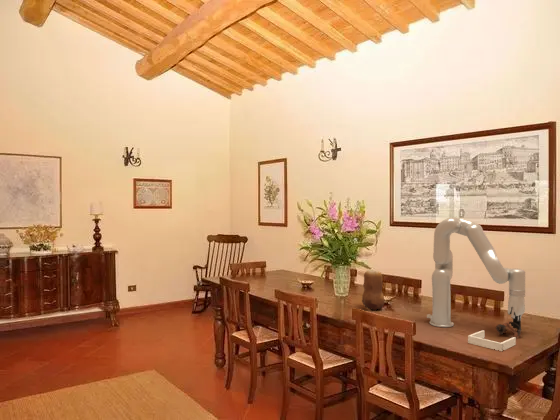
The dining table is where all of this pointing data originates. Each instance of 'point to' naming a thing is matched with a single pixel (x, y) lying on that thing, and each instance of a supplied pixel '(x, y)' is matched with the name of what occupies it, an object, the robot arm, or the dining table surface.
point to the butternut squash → (373, 290)
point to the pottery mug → (503, 328)
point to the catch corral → (478, 340)
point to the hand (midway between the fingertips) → (516, 328)
